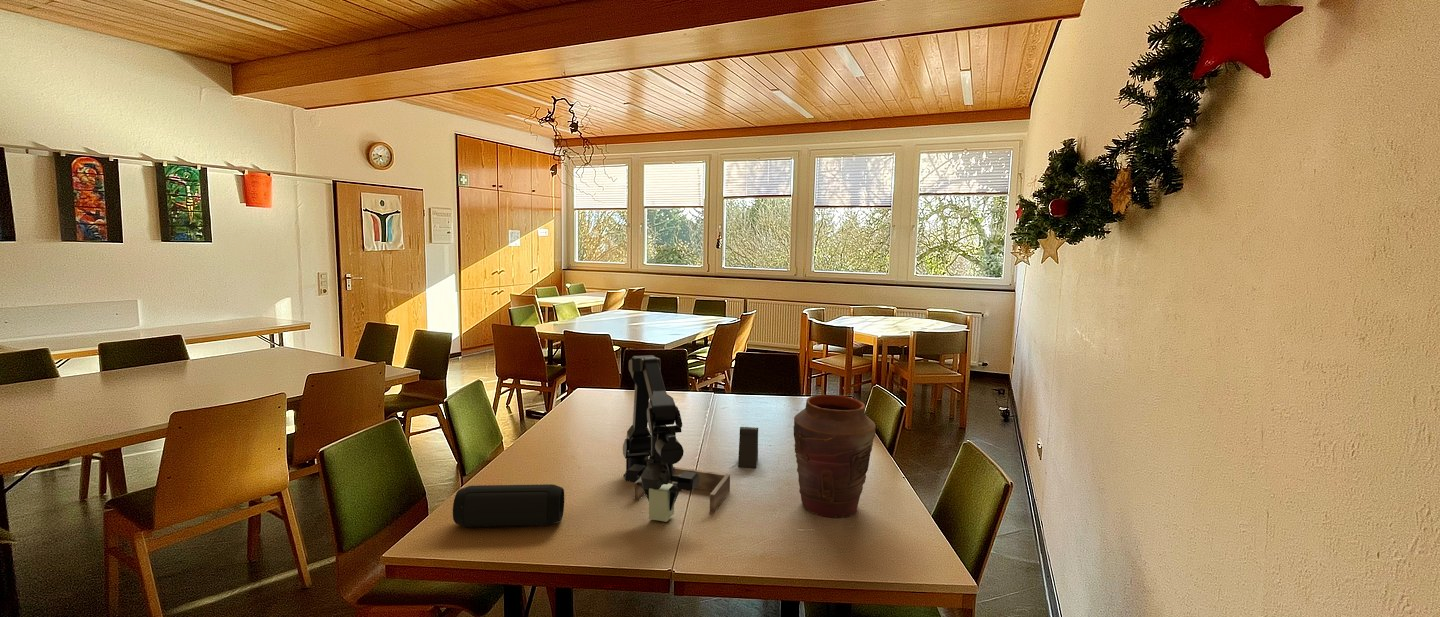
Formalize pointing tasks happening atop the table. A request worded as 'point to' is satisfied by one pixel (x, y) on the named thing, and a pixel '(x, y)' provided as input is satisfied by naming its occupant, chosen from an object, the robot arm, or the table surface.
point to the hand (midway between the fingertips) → (661, 508)
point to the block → (660, 503)
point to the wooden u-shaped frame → (702, 485)
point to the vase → (832, 453)
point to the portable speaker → (508, 505)
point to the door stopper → (748, 447)
